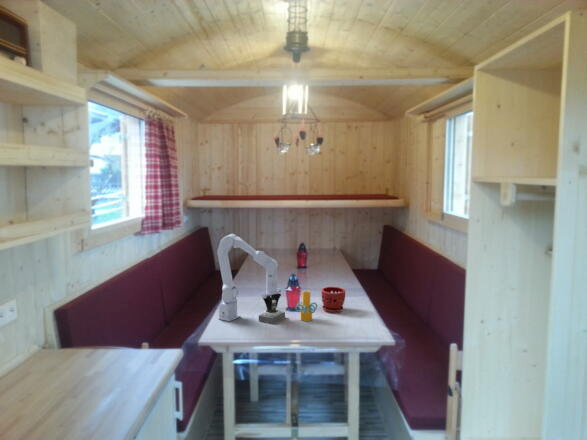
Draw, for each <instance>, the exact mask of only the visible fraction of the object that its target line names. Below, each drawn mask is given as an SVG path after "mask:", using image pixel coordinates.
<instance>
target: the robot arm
mask: <svg viewBox="0 0 587 440" xmlns="http://www.w3.org/2000/svg"><path fill="white" fill-rule="evenodd" d="M218 245H219V246H218V248H217V251H216V253H217V258H218V262H219V263H218V264H219V268H220V269H219V270H220V275H221V280H222V288H221V290H222V294H221V299H222V303H221V304H220V305H219V306H218V307H219V308H218V314H219V317H217V319H218V320H220V321H221V320H222V321H225V322H231V321H234V320H237V319H238V318H241V315H239V314H238V299H237V297H238V296H239V291H238V288H237V287H236V284H235V282H234V281H233V275H232V270H231V269H232V268H231V264H230V259H229V258H230V257H229V254H228V253H229V252H230V251H231V249H232V248H233V249H240V250H242V251H244V252H246V253H247V254H249V255H250V256H252V258H253V261H255V262H256V263H258V264H259V265H260V266H262V267H263V268H264V270H265V271H266V272H265V273H266V274H265V286H266V287H265V289H266V290H265V291H264V292H263V293H262V294H261V298H262V299H263V301H264V304H265V307H266V309H267V310H271V308H272V301H273V300H276V309H278V303H279V300H280V298H281V296H282V294H281V293H282V288H280V287H278V269H277V268H278V266H279V263H278V261H277V260H276V259H275V258H272V257H271V256H268V255H267V254H266V253H265V251H263V250H262V251H261V250H256V249H255V248H254V247H252V246H251V245H250V244H249V243H247V242H246V241H245V240H243V238H242V237H240V236H238V235H236V234H235V233H230V234H228V235H225V236H224V237H222V239H221V240H219V244H218Z"/></svg>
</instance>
